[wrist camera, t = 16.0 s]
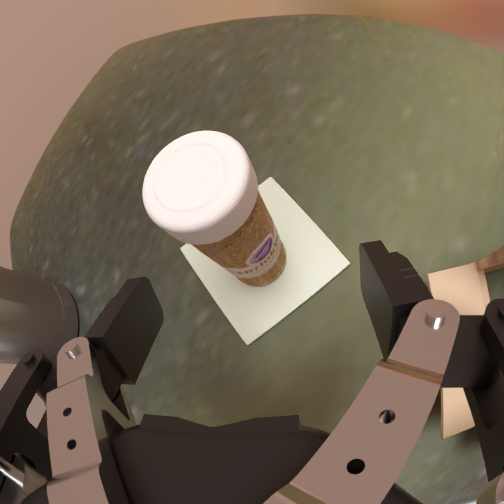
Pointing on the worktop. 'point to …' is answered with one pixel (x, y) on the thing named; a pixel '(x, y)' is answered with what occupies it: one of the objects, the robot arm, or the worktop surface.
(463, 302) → the carton
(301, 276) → the coaster
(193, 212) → the sprinkles bottle
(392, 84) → the worktop surface
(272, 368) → the worktop surface
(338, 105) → the worktop surface
